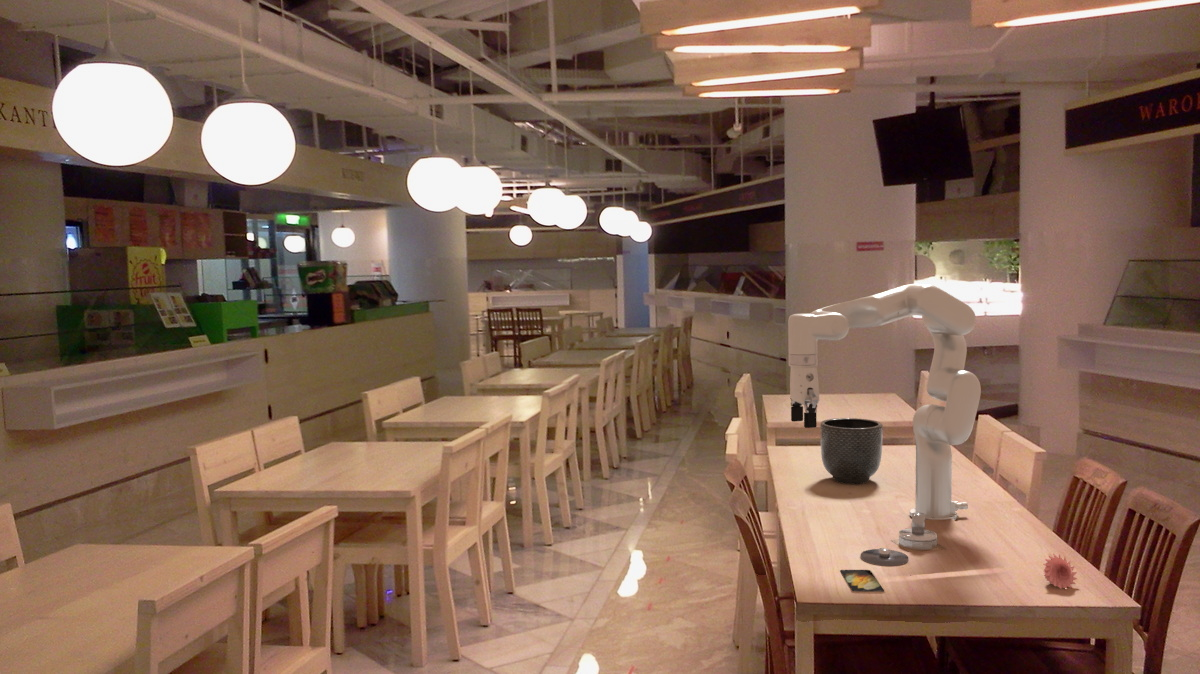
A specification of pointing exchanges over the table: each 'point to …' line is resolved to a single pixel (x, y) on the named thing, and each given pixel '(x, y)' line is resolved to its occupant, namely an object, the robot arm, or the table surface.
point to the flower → (1059, 572)
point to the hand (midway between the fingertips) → (803, 424)
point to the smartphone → (862, 581)
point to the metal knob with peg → (918, 535)
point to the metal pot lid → (884, 557)
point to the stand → (917, 550)
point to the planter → (851, 448)
